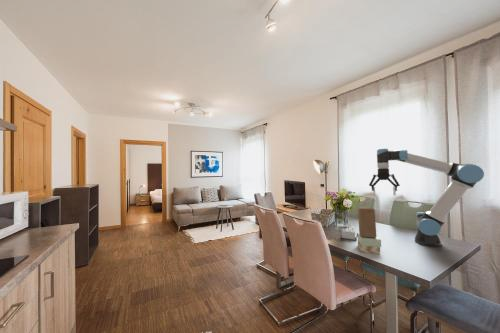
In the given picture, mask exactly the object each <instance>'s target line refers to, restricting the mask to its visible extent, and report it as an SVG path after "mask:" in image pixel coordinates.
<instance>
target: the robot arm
mask: <svg viewBox="0 0 500 333" xmlns="http://www.w3.org/2000/svg"><path fill="white" fill-rule="evenodd" d="M376 160H377V161H376V162H377V165H376V167H377V174H373V175H372V178H371V180H370V182H369V184H368V185H369V186H370V187H371V191H372V192H373V196H376V184H378V183H379V182H380V181H388V182H389V183H390V184H391V185H392V186H393V187H392V191H393V196H397V195H396V194H397V193H396V192H397V191H398V187H400V185H401V184H400V183H399V181H398V180H397V178H396V176H395V173H392V174H390V168H389V167H390V164H389V161H397V162H402V163H407V164H410V165H414V166H416V167H417V166H418V167H422V168H424V169H428V170H430V171H431V170H432V171H435V172H438V173H443V174H444V175H446V176H449V177H450V178H449V180H450V183H449V185H447V187H446V188H445V190H444V191H443V192H442V194H440V196H439V197H438V198H437V200H436V202H435V203H434V204H433V206H432V207H431V208H430V209H429V210H428V211H418V212H416V215H415V217H416V233H415V236H414V242H416V243H417V244H420V245H423V246H427V247H440V246H442V241H441V238H440V236H439V235H438V234H439V233H440V232H441V229H442V227H443V226H444V224H445V223H446V221H445V218H446V217H447V216H448V214H449V213H450V212H451V211H452V209H453V208H454V207H455V206H456V204H457V203H458V202H459V201H460V199H461V198H462V196H463V195H464V194H465V193H466V192H467V191H468V189H473V188H474V187H475V185H476V184H477V183H479V182H480V181H481V180H483V178H484V177H485V172H484V170H483V168H481V166H478V165H476V164H473V163H465V164H464V163H463V164H462V163H455V162H445V161H441V160H438V159H434V158H429V157H424V156H421V155H418V154H417V155H416V154H413V153H409V152H408V150H407V149H398V150H397V149H396V150H395V149H394V150H389V149H388V148H378V149H377V150H376ZM376 178H377V179H376ZM391 178H392V180H393V181H392V180H391ZM375 179H376V180H375ZM374 181H375V182H374Z"/></svg>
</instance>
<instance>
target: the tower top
mask: <svg viewBox="0 0 500 333" xmlns="http://www.w3.org/2000/svg"><path fill="white" fill-rule="evenodd" d="M357 233H358V236H357V242H358V241H359V242H360V244H361V245H362V246H374V247H380V248H382V240H381V238H380V237H379V236H378V235H377V234H376V238H372V237H361V236H360V233H359V232H357Z"/></svg>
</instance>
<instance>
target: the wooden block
mask: <svg viewBox="0 0 500 333" xmlns="http://www.w3.org/2000/svg"><path fill="white" fill-rule="evenodd" d="M357 215H358V216H357V218H358V219H357V220H358V231H359V232H358V233H360V236H361V237H372V238H376V235H377V224H376V211H375V208H373V207H372V206H358V207H357Z"/></svg>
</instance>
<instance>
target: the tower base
mask: <svg viewBox="0 0 500 333" xmlns="http://www.w3.org/2000/svg"><path fill="white" fill-rule="evenodd" d="M357 247H358V249H359V252H360V253H368V254H379V255H380V254H381V247H374V246H362V245H361V244H360V242H359V241H358V240H357Z"/></svg>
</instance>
